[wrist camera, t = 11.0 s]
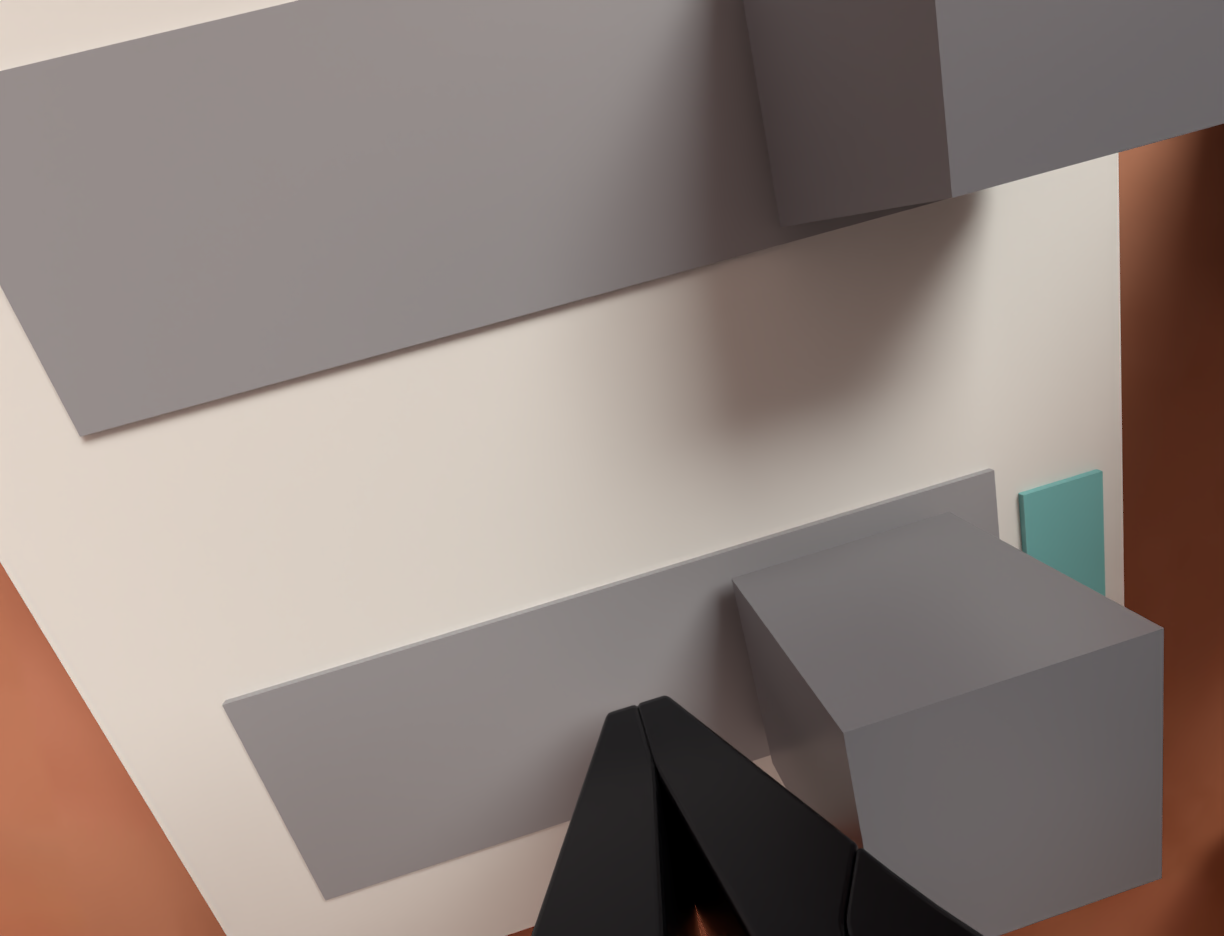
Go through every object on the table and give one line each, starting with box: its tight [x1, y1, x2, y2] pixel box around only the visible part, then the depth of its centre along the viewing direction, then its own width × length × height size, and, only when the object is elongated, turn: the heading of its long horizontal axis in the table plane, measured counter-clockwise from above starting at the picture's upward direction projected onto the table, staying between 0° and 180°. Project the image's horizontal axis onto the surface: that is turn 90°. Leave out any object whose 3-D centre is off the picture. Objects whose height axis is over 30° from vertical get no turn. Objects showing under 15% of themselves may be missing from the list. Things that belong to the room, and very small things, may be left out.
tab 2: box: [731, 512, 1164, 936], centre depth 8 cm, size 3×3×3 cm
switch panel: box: [0, 0, 1124, 936], centre depth 9 cm, size 14×14×2 cm
